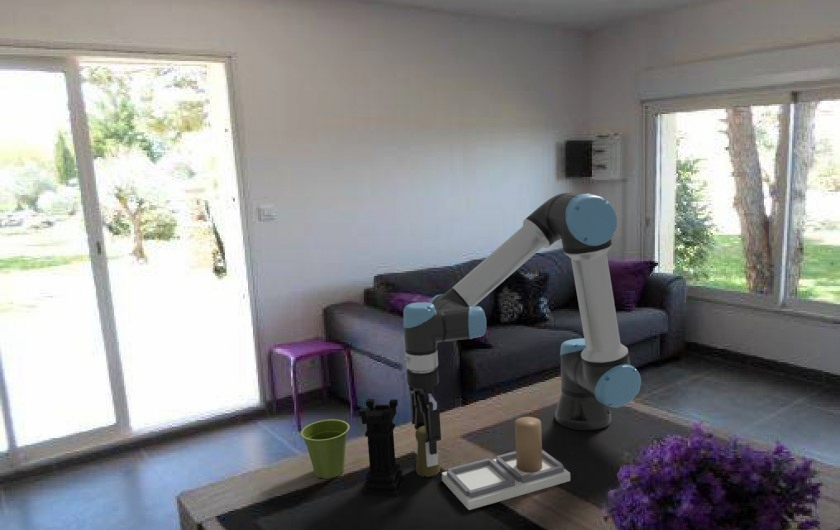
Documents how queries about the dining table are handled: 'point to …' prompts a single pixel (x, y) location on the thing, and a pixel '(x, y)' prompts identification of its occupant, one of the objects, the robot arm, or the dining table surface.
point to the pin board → (507, 470)
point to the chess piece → (381, 449)
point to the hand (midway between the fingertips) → (427, 459)
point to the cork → (424, 456)
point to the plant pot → (326, 446)
